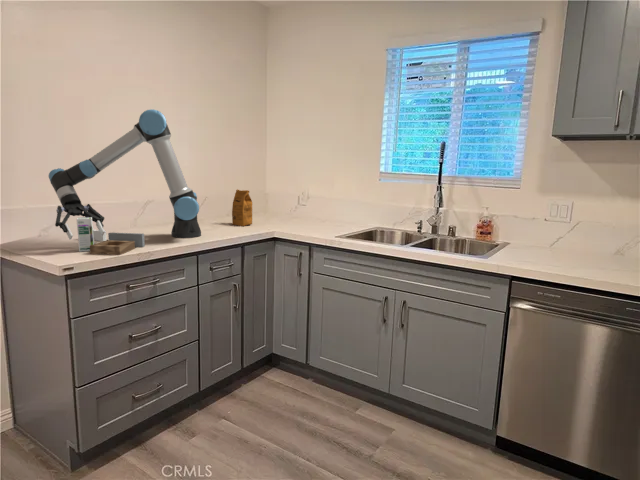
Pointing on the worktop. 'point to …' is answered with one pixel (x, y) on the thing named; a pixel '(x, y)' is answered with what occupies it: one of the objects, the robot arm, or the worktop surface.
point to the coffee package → (242, 208)
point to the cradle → (112, 247)
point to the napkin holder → (98, 236)
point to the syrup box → (85, 233)
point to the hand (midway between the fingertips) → (87, 235)
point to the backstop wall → (128, 238)
